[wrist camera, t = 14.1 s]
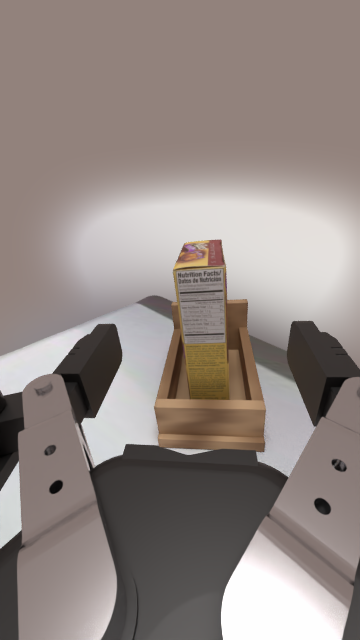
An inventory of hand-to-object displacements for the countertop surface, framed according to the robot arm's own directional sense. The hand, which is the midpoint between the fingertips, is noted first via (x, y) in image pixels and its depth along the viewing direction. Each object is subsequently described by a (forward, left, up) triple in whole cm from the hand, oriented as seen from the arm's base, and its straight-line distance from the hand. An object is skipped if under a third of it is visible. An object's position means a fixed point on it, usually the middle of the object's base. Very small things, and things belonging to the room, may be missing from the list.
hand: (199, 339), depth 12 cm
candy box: (-5, +12, -14) cm, 19 cm away
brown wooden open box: (-5, +12, -15) cm, 20 cm away
